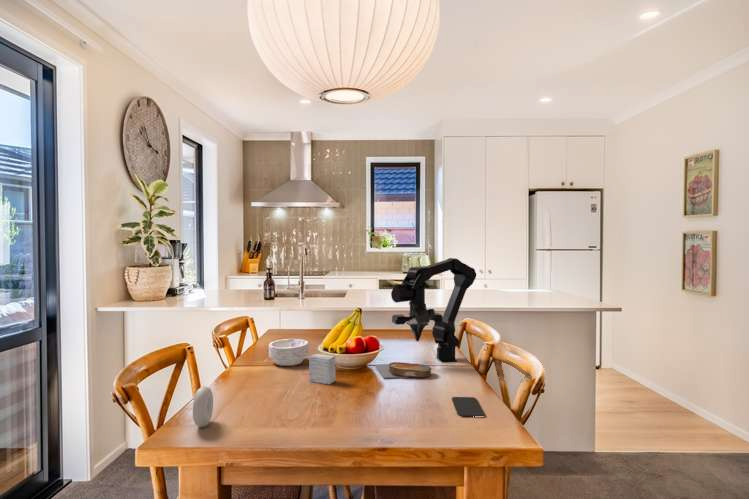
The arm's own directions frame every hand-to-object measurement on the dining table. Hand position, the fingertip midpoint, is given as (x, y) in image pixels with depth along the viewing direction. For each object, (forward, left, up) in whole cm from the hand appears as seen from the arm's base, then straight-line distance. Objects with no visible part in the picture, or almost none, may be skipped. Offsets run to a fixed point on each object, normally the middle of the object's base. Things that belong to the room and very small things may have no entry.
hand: (417, 340), depth 175 cm
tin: (+5, +7, -8) cm, 12 cm away
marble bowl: (+48, -12, -10) cm, 50 cm away
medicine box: (+37, +13, -10) cm, 41 cm away
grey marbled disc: (+70, +44, -10) cm, 83 cm away
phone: (-2, +44, -10) cm, 45 cm away
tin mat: (+12, +6, -9) cm, 16 cm away
